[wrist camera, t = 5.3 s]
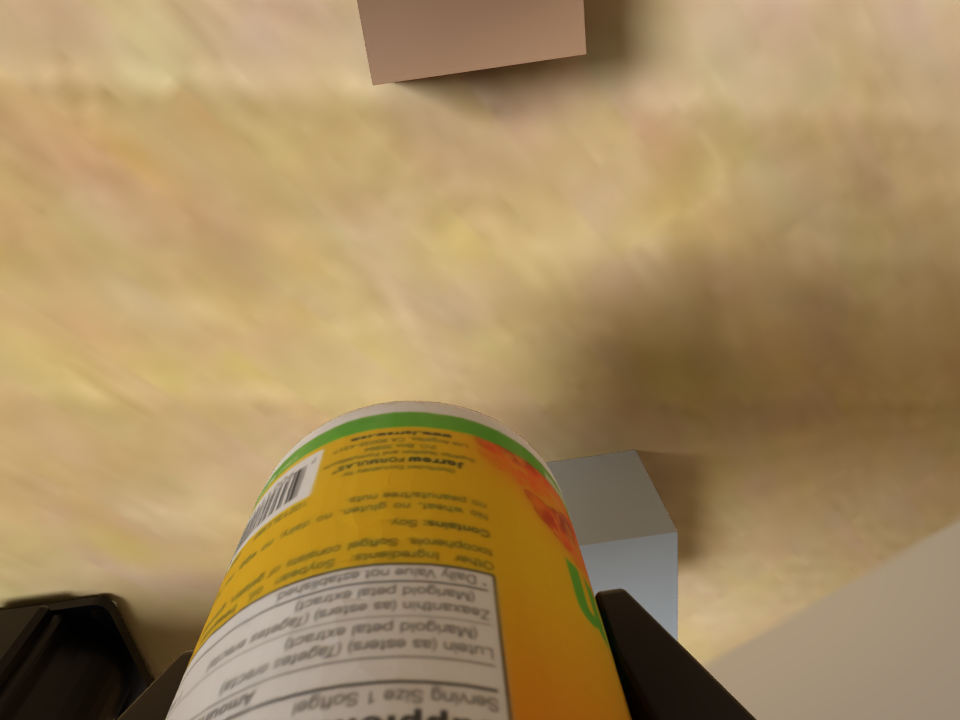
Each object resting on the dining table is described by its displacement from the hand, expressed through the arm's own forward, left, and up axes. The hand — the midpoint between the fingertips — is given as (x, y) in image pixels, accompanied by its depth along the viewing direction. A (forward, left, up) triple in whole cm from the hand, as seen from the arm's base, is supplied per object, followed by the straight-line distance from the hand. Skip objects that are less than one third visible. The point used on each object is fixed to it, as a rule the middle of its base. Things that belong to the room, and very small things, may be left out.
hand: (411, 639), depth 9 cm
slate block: (-8, -4, -12) cm, 15 cm away
